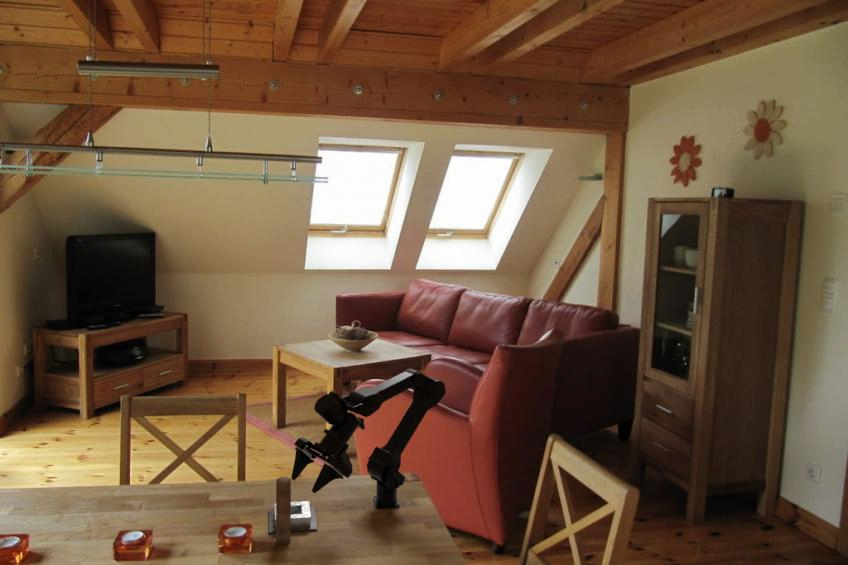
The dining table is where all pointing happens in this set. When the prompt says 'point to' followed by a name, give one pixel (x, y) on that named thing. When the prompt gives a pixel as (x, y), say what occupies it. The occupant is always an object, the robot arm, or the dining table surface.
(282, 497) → the walnut peg
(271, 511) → the steel socket
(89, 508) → the dining table surface
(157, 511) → the dining table surface
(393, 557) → the dining table surface
